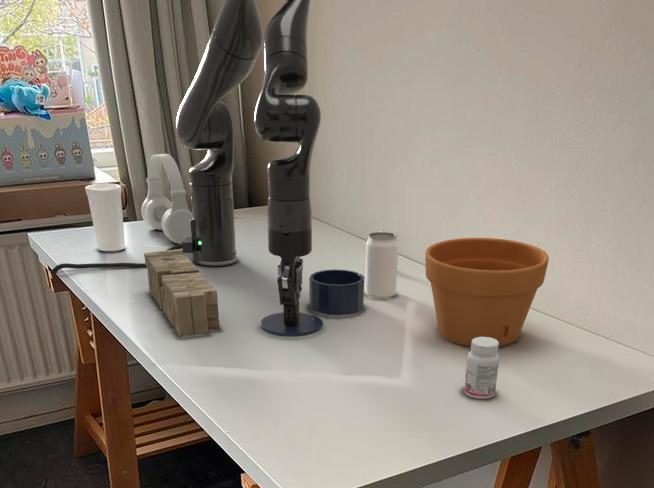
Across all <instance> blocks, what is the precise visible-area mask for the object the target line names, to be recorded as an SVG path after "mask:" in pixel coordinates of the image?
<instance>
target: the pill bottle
mask: <svg viewBox="0 0 654 488" xmlns="http://www.w3.org/2000/svg"><path fill="white" fill-rule="evenodd" d="M498 345H499V342H498V341H497V340H496V339H494V338H490V337H477V338H474V339H473V340H472V343H471V347H470V351H469V352H468V354H467V359H466V369H465V377H464V378H465V379H464V387H463V389H464V393H465V395H466V396H468V397H470V398H473V399H478V400H479V399H480V400H487V399H490V398H493V397H494V396H495V394H496V391H497V389H496V388H497V380H498V373H499V365H500V355H499V353H498V352H499V347H498Z"/></svg>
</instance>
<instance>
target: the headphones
mask: <svg viewBox="0 0 654 488" xmlns="http://www.w3.org/2000/svg"><path fill="white" fill-rule="evenodd" d="M162 166H163V168H164V171H165V173H166V177H167V180H168V184H169V188H170V189H169V190H170V192H169V194H170V197H171V200H169V199H168V198H167V197H166V196H165V195H164V190H163V187H162V181H163V180H162V177H161V176H162V175H161V174H162V173H161V172H162ZM147 167H148V168H147V178H146V183H147V195H146V198H145V199H144V201H143V202H142V205H141V208H140V209H141V210H140V213H141V217H142V219H143V221H144V223H145V224H146V225H147V226H148V227H150V228H152V229H155V230H157V231H158V230H159V231H162V232H163V233H164V235H165V236H166V237H167V238H168V239H169V240H170V241H171V242H173V243H175V244H177V245H180V244H182V242H183V241H184V240H185V239H186V238H187V237H191V225H190V220H191V219H193V216H192V211H191V210H190V208H189V205H188V202H187V196H186V195H187V190H186V189H185V186H184V182H183V178H182V175H181V172H180V169H179V166H178V164H177V161H175V159H174V157H173V156H172V155H171V154H169V153H160V154H159V153H158V154H153V155H151V157H150V159H149V162H148V166H147Z"/></svg>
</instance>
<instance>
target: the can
mask: <svg viewBox="0 0 654 488" xmlns="http://www.w3.org/2000/svg"><path fill="white" fill-rule="evenodd" d="M397 237H398V235H397V234H396V233H393V232H386V231H384V232H380V231H375V232H371V233H369V234H368V238H367V241H366V242H365V243H366V245H365V264H364V265H365V269H364V272H365V273H364V295H367V296H370V297H375V298H389V297H393V296H396V294H397V282H398V281H397V280H398V266H399V265H398V264H399V263H398V262H399V242H398V239H397Z"/></svg>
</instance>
